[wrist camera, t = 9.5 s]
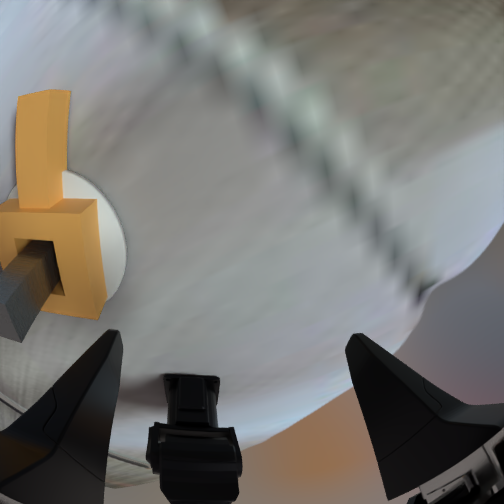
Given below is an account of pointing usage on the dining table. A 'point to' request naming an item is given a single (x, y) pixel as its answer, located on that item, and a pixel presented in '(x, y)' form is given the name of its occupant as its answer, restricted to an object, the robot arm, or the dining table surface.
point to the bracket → (61, 211)
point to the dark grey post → (26, 287)
